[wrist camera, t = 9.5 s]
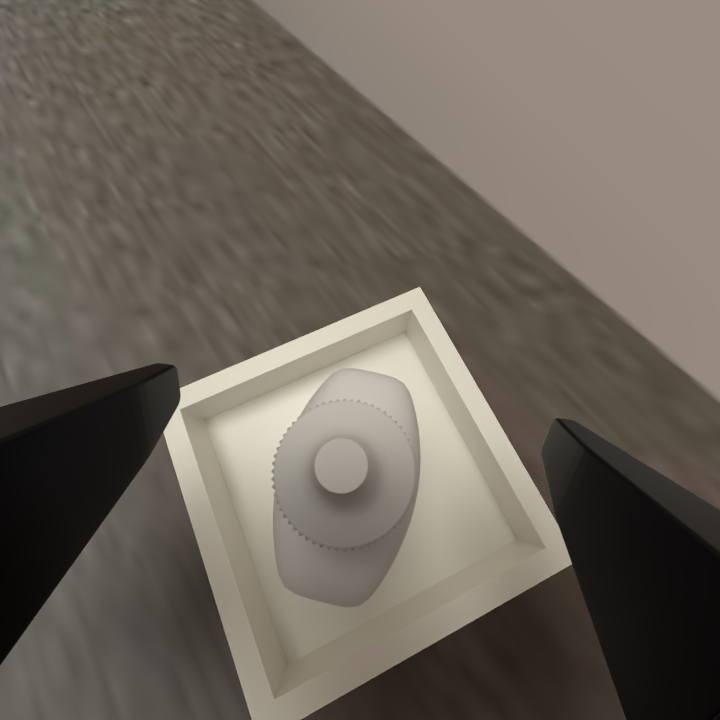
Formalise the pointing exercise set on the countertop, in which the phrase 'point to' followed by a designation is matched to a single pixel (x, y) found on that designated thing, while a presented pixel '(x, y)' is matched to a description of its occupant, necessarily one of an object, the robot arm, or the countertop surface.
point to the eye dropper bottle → (345, 487)
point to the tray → (425, 533)
